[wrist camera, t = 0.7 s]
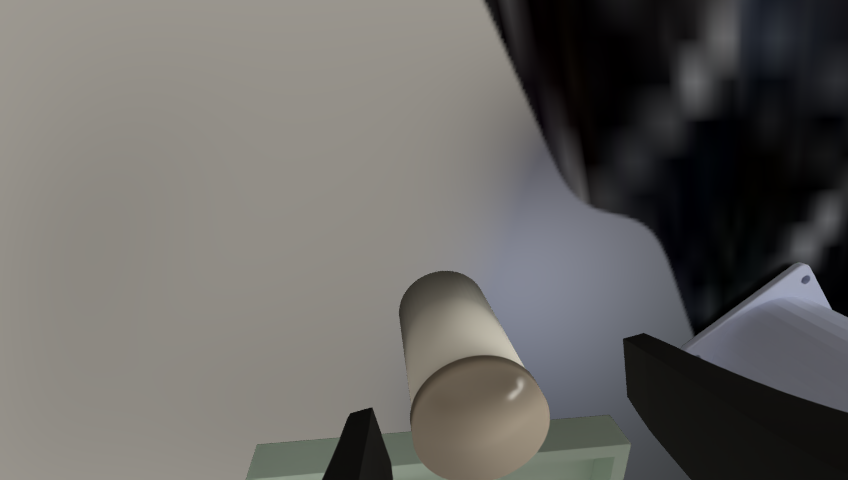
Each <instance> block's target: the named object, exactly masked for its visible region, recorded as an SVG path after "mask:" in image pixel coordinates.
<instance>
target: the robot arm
mask: <svg viewBox="0 0 848 480" xmlns="http://www.w3.org/2000/svg"><path fill="white" fill-rule="evenodd" d="M623 344H624V358H625V371H626V385H627V397H628V398H629V400H630V401H631V403H632V405H633V406H634V408H635V409H636V411H637V412H638V414H639V415H640V417H641V418H642V420H643V421H644V423H645V424H646V425H647V427H648V428H649V430H650V431H651V432H652V434H653V435H654V436H655V437H656V438H657V440H658V441H659V442H660V443H661V445H662V446H663V447H664V448H665V449H666V451H667V452H668V453H669V454H670V455H671V456H672V458H673V459H674V460H675V461H676V462H677V464H678V465H679V466H680V467H681V468H682V469H683V471H684V472H685V473H686V474H687V475H688V476H689V478H690V479H691V480H848V317H846V316H844V315H842V314H839V313H837V312H835V311H833V310H832V309H831V307H830V305H829V303H828V301H827V299H826V297H825V295H824V293H823V292H822V290H821V288H820V286H819V284H818V282H817V280H816V278H815V276H814V274H813V272H812V270H811V268H810V267H809V266H808V265H806V264H804V263H800V262H799V263H795V264H793V265H792V266H790V267H789V268H788V269H786V270H785V271H784V272H782V273H781V274H780V275H778V276H777V277H775V278H774V279H773V280H771V281H770V282H769V283H767V284H766V285H765V286H763V287H762V288H760V289H759V290H758V291H756V292H755V293H754V294H752V295H751V296H750V297H748V298H747V299H745V300H744V301H743V302H741V303H740V304H739V305H737V306H736V307H735V308H733V309H732V310H730V311H729V312H728V313H726V314H725V315H724V316H722V317H721V318H720V319H718V320H717V321H715V322H714V323H713V324H711V325H710V326H709V327H707V328H706V329H705V330H703V331H702V332H700V333H699V334H698V335H696V336H695V337H694V338H692V339H691V340H690V341H688V342H687V343H686V344H684V345H683V346H682V347H681V349H679V348H677V347H675V346H672V345H670V344H668V343H666V342H664V341H661V340H659V339H657V338H654V337H652V336H650V335H647V334H645V333H642V334H639V335H635V336H632V337H628V338H624V339H623ZM322 480H393V474H392V465H391V460H390V458H389V455H388V452H387V449H386V446H385V443H384V440H383V437H382V434H381V431H380V429H379V426H378V423H377V420H376V417H375V414H374V411H373V408H368V409H364V410H361V411H357V412H353V413H350V415H349V417H348V419H347V421H346V424H345V426H344V429H343V431H342V434H341V437H340V439H339V442H338V444H337V446H336V449H335V451H334V454H333V456H332V458H331V460H330V463H329V465H328V467H327V469H326V472H325V474H324V476H323V478H322Z"/></svg>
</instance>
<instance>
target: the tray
mask: <svg viewBox="0 0 848 480" xmlns="http://www.w3.org/2000/svg"><path fill="white" fill-rule="evenodd" d="M382 437H383V440H384V443H385V446H386V449H387V452H388V455H389V458H390V460H391V465H392V474H393V480H448V479H445V478H442V477H440V476H438V475H436V474H434V473H433V472H432V471H430V470H429V469H428V468H427V467H426V466H425V465H424V464H423V463H422V462H421V461H420V459H419V458H418V456H417V454H416V452H415V449H414V445H413V439H412V432H400V433H389V434H382ZM339 439H340V438H329V439H318V440H306V441H295V442H281V443H270V444H258V445H257V446H256V449H255V453H254V456H253V459H252V462H251V465H250V468H249V471H248V474H247V478H246V480H322V478H323V476H324V474H325V472H326V469H327V467H328V465H329V463H330V460H331V458H332V456H333V454H334V451H335V449H336V446H337V444H338V442H339ZM630 447H631V443H630V442H629V440H628V439H627V438H626V436H625V435H624V434H623V432H622V431H621V430H620V428H619V427H618V426H617V424H616V423H615V421H614V420H613V419H612V417H611V416H610V415H602V416H590V417H578V418H566V419H556V420H550V424H549V429H548V433H547V436H546V438H545V440H544V442H543V444H542V445H541V447H540V449H539V450H538V451H537V452H536V454H535V455H534V456H533V457H532V458H531V459H530V460H529V461H528V462H527V463H525V464H524V465H523V466H521V467H520V468H518V469H517V470H515V471H514V472H512V473H510V474H508V475H505V476H503V477H501V478H498V479H494V480H623V479H624V475H625V470H626V465H627V461H628V456H629V452H630Z"/></svg>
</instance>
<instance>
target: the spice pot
mask: <svg viewBox="0 0 848 480" xmlns="http://www.w3.org/2000/svg"><path fill="white" fill-rule="evenodd" d="M399 317H400V325H401V332H402V340H403V348H404V355H405V363H406V370H407V377H408V385H409V392H410V400H411V413H410V423H411V431H412V439H413V445H414V449H415V452H416V454H417V456H418V458H419V459H420V461H421V462H422V463H423V464H424V465H425V466H426V467H427V468H428V469H429V470H430V471H432V472H433V473H434V474H436V475H438V476H440V477H442V478H445V479H448V480H494V479H498V478H501V477H503V476H505V475H508V474H510V473H512V472H514V471H515V470H517V469H518V468H520V467H521V466H523V465H524V464H525V463H527V462H528V461H529V460H530V459H531V458H532V457H533V456H534V455H535V454H536V452H537V451H538V450H539V449H540V447H541V445H542V444H543V442H544V440H545V438H546V436H547V433H548V429H549V424H550V411H549V406H548V403H547V401H546V398H545V397H544V395H543V393H542V391H541V390H540V388H539V386H538V384H537V383H536V381H535V379H534V378H533V376H532V375H531V374H530V373H529V371H527V370H526V369H525V367H524V366H523V364H522V362H521V360H520V358H519V357H518V355H517V353H516V351H515V350H514V348H513V346H512V344H511V343H510V341H509V339H508V337H507V335H506V334H505V332H504V330H503V329H502V326H501V325H500V323H499V321H498V319H497V318H496V316H495V314H494V312H493V310H492V309H491V307H490V305H489V303H488V302H487V300H486V298H485V296H484V295H483V293H482V291H481V289H480V288H479V286H478V285H477V284H476V283H475V282H474V281H473V280H472V279H470V278H469V277H467V276H465V275H464V274H461V273H458V272H453V271H438V272H434V273H430V274H428V275H425V276H423V277H421V278H420V279H418V280H417V281H415V282H414V283H413V284H412V285H411V286H410V287H409V288H408V290H407V291H406V292H405V294H404V296H403V298H402V300H401V304H400V309H399Z"/></svg>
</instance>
